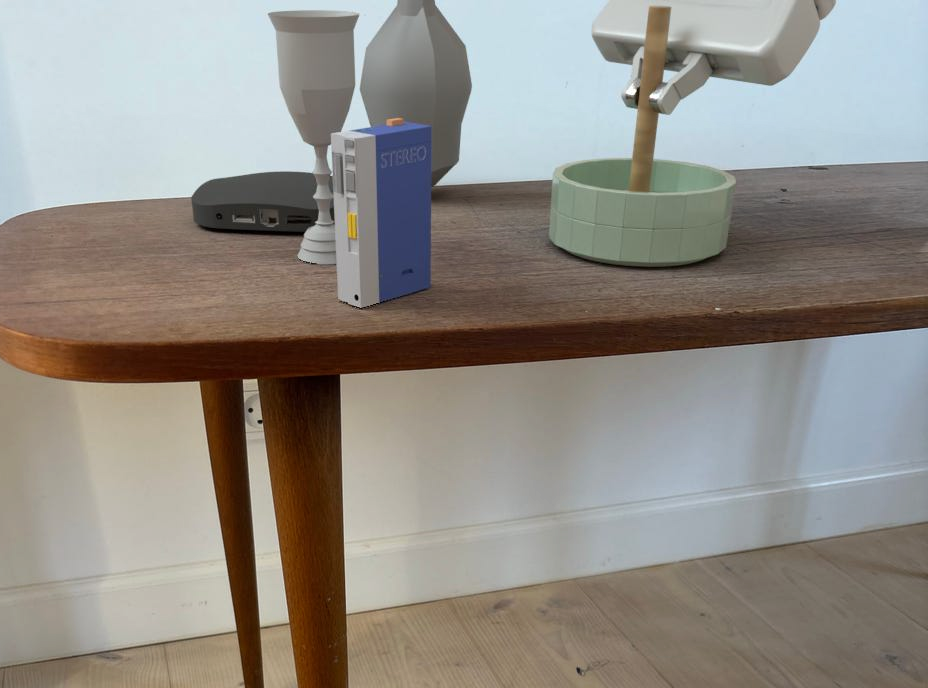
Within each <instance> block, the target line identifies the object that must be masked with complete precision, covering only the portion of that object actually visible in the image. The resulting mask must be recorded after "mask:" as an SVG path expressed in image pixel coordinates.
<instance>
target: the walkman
mask: <svg viewBox="0 0 928 688" xmlns="http://www.w3.org/2000/svg"><path fill="white" fill-rule="evenodd" d="M330 147H331V168H332V169H331V171H332V176H333V194H334V217H335V239H336V262H337V264H336V281H337V282H336V283H337V284H336V285H337V300H338V299H340V300H342V301H345V302H348V304H351V305H354V306H357V307H360V308H361V307H365V306H369V307H371V306H370V305H373V304H376V303H379V304H381V303H380V302H382V301H385V302H387V301H386V300H388V301H390V300H389V299H391V300H394V299H393V298H395V299H397V297H398V298H401V297H404V296H407V295H410V294H413V292H414V293H416V292H420V291H423V290H426V289H430V288H431V286H432V281H431V280H432V277H431V276H432V268H431V267H432V187H431V126H428V125H422V124H415V123H409V122H403V119H400V118H395V119H388V120H387V122H386V125H381V126H375V127H371V126H370V127H364V128H363V127H362V128H357V129H350V130H344V131H341V132H337V133H331V145H330ZM403 295H404V296H403ZM400 296H401V297H400ZM382 303H383V302H382ZM348 304H347V305H348ZM376 305H377V304H376ZM373 306H374V305H373Z"/></svg>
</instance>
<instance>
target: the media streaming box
mask: <svg viewBox="0 0 928 688" xmlns="http://www.w3.org/2000/svg"><path fill="white" fill-rule="evenodd" d="M317 185H318V184H317V181H316V177H315V176H314V174H313V173H312V172H307V171H284V170H283V171H264V172H256V173H255V172H254V173H249V174H242V175H234V176H228V177H218V178H213V179H209V180H207V181H205V182H203V183H202V184H201V185H199V186H198V187H197V188H196V190H195V191H194V192H193V194H192V195H191V197H190V200H191V207H192V216H193V222H194V223H195V224H196V225H199V226H202V227H206V228H211V229H221V230H239V231H240V230H242V231H260V232H261V231H262V232H263V231H265V232H289V233H290V232H292V233H293V232H295V233H305V232H306V231H307V229H308V228H309V227H312V226H315V225H316V224H317V223H315V222H316V221H318V216H319V209H318V205H317V201H316V200H315V199H314V198H313V196H314V194H315V193H316V191H317ZM328 186H329V189H330V192H331V193H332V194H333V175H330V177H329V182H328ZM333 195H334V194H333ZM329 212H330V216H331V220H332V221H334V223H333V224H334V225H335V217H334V197H333V199H332V200H331V202H330V209H329Z"/></svg>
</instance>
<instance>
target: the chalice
mask: <svg viewBox="0 0 928 688" xmlns="http://www.w3.org/2000/svg"><path fill="white" fill-rule="evenodd" d="M267 16H268V18H269V20H270V23H271V24H272V26H273V28H274V30H275V42H276V54H277V55H276V56H277V69H278V82H279V83H278V84H279V88H280V91H281V94H282V97H283V100H284V102H285V105H286V108H287V110H288V113H289V115H290V117H291V120H292V121H293V123H294V126H295V127H296V129H297V131H298V133H299V135H300V137H301V139H302V141H303V142H304V143H306V144H308V145H309V146H312V147H313V148H314V149H313V150H314V153H315V164H314V169H313V171H312V172H311V173H313V174H314V176H315V177H316V181H317V184H318V185H317V191H316V193H315V194H314V196H313V198H314V199H315V200H316V201H317V205H318V209H319V216H318V221H316V222H315V223H317V224H316V225H315V226H312V227H309V228H308V229H307V231H306V232H304V234H303V239H302V241H301V243H300V247H301V248H300V250H299V252H298V254H297V256H298V258H299V259H301V260H303V261H307V262H310V263H309V264H311V262H312V263H317V264H316V265H337V262H336V239H335V225H334V224H333V223H334V221H332V220H331V216H330V212H329V209H330V202H331V200H332V199H333V197H334V195H333V194H332V193H331V192H330V189H329V186H328V182H329V177H330V176H332V174H333V172H332V169H331V168H330V166H329V162H328V157H327V156H328V149H329V146H331V133H337V132H342V130H343V128H344V125H345V122H346V120H347V117H348V115H349V113H350V109H351V104H352V100H353V96H354V93H355V88H356V61H355V59H356V58H355V33H354V30H355V28H356V25H357V22H358V20H359V17H360V13H359V12H356V11H349V10H348V11H347V10H327V9H326V10H325V9H322V10H321V9H319V10H318V9H313V10H312V9H307V10H306V9H305V10H304V9H303V10H299V9H298V10H282V11H281V10H279V11H272V12H267ZM297 256H296V257H297ZM299 259H298V260H299ZM303 261H302V262H303Z"/></svg>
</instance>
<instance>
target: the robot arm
mask: <svg viewBox="0 0 928 688" xmlns="http://www.w3.org/2000/svg"><path fill="white" fill-rule="evenodd" d="M836 4H837V0H608V2H607V3H606V4H605V5H604V7H603V8H602V9H600V12H599V13H598V14H597V15H596V17H595V18H594V20H593V22H592V24H591V37H592V40H593V42H594V44H595V45H596V47H597V50H598V51H599V53H600V55H601V56H602V57H603V59H604V60H605V61H606V62H609V63H613V64H620V65H621V64H622V65H629V66H631V74H630V79H629V80H628V82H627V83H626V85H625V86H624V87H623V89H622V91H621V95H620V97H621V100H622V101H623V103H624V104H625V107H626V108H629V109H634V110H638V101H639V92H640V83H641V74H642V65H643V56H644V46H645V37H646V28H647V19H648V10H649V6H670V7H671V16H670V25H669V33H668V41H667V49H666V58H665V66H664V71H668V72H676V74H675V75H673V76H672V77H671V78H670V79H669V80H668V81H667V82H665V81H663V82H659V84H658V85H657V86H656V88H655V91H654V92H653V93H651V95H650V97H649V103H650V105H651V106H652V107H653V111H654V112H656V113H659V114H661V115H666V116H670V115H671V114H672V113H673V112H674V110H675V109H676V107H677V106H678V105H679V103H680V102H681V101H682V100H685V98H687V97H688V96H691V95H692V94H693V93H694V92H696V91H698V90H699V89H700V88H702V87H704V86H705V84H706V83H707V82H708V80H709V79H710V78H714V79H716V78H717V79H722V80H728V81H736V82H742V83H749V84H755V85H762V86H769V87H770V86H775V85H777V84H778V83H780V82H782V81H783V80H785V79H787V78H788V77H789V76H791V74H792V73H794V71H795V69H796V68H797V66H798V65H799V64H800V62H801V61H802V59H803V58H804V57H805V55H806V53H807V52H808V50H809V49H810V47H811V45H812V44H813V42H814V41H815V39H816V37H817V35H818V33H819V31H820V27H821V21H822V20H824V19H825V18H827V17H828V16H829V14H830V13H832V11H833V10H834V8H835V7H836Z"/></svg>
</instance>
